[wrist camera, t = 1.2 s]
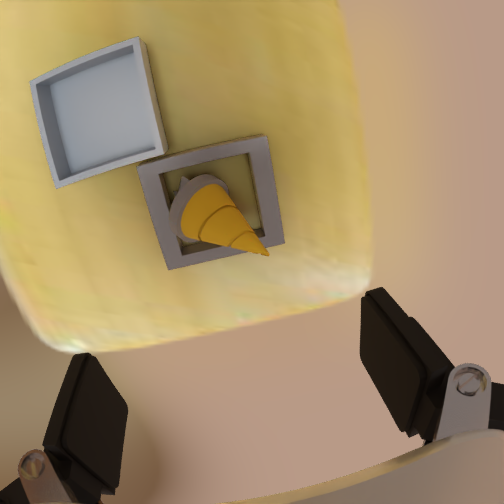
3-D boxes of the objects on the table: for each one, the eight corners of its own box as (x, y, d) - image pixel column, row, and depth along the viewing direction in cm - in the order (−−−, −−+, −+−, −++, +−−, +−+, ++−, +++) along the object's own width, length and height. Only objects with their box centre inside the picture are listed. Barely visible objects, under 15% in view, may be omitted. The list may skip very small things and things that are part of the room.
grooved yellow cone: (195, 149, 25) (297, 205, 21) (199, 199, 29) (288, 257, 25) (140, 180, 22) (242, 252, 18) (153, 231, 26) (241, 301, 22)
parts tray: (46, 82, 19) (29, 81, 17) (145, 44, 20) (138, 36, 17) (70, 179, 23) (56, 189, 21) (168, 148, 24) (164, 154, 21)
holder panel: (140, 162, 24) (136, 166, 22) (262, 134, 24) (266, 135, 23) (170, 260, 28) (168, 270, 26) (280, 235, 28) (284, 243, 27)
